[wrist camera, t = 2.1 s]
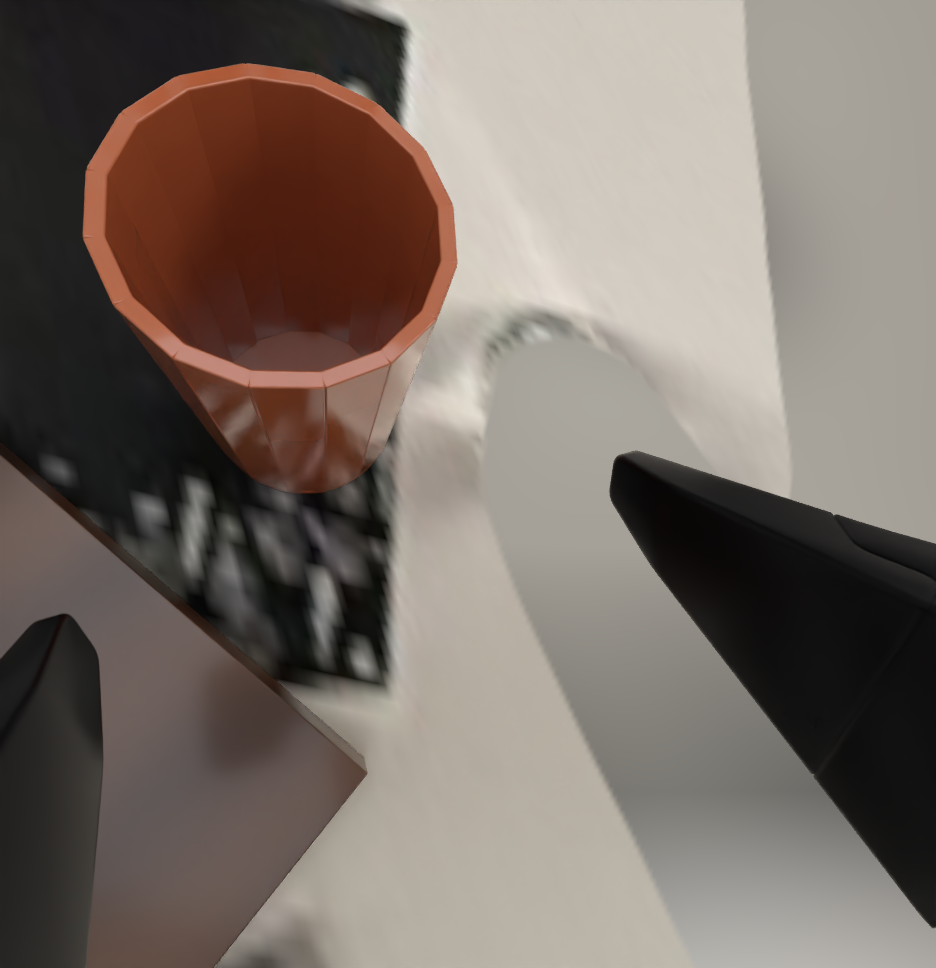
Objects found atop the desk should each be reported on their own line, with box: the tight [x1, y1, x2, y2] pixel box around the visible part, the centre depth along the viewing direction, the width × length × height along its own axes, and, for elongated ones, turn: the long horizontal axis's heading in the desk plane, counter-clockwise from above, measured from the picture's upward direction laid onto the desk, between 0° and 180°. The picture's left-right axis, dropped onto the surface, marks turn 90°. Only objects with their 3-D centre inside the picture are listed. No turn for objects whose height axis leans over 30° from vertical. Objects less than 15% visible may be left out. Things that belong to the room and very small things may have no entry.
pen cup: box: [83, 63, 457, 494], centre depth 16 cm, size 7×7×12 cm
